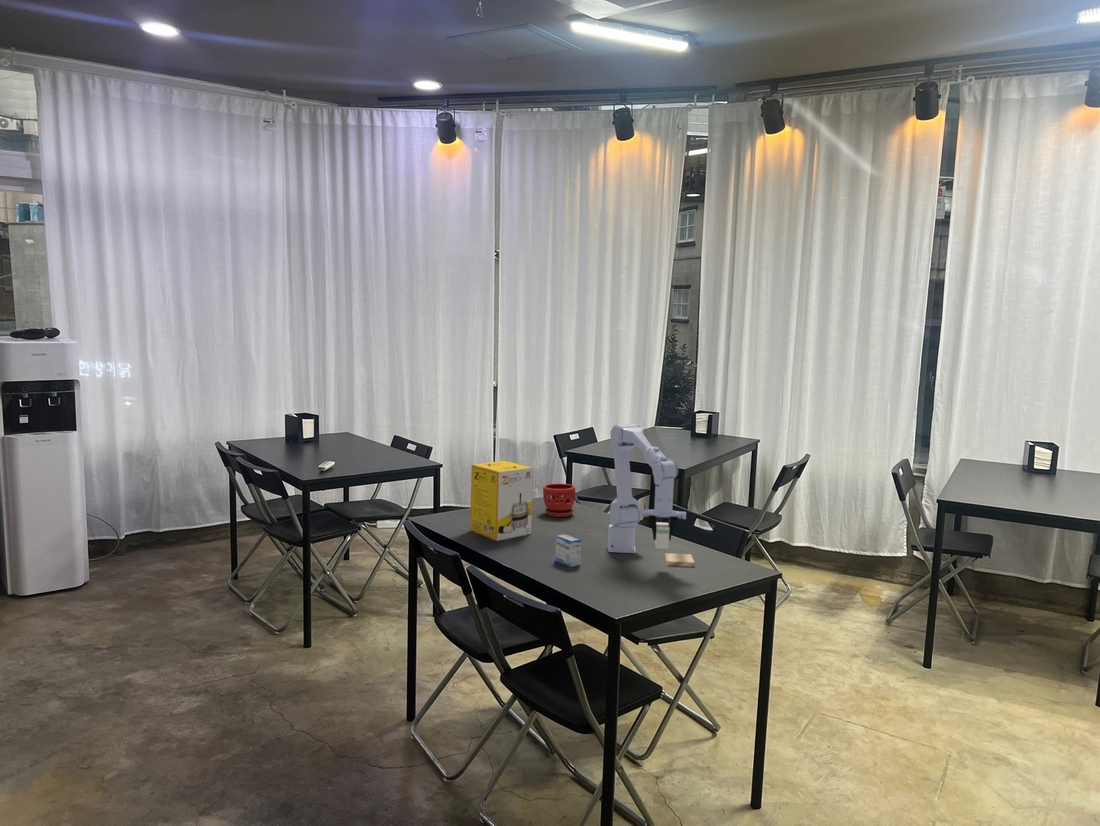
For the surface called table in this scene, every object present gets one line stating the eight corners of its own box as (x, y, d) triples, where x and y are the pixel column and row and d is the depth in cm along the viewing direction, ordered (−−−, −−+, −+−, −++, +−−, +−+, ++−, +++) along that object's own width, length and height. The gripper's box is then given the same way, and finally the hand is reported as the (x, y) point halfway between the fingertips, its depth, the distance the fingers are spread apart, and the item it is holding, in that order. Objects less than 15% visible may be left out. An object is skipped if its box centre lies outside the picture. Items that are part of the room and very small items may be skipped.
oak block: (666, 567, 261) (667, 561, 261) (664, 558, 270) (664, 553, 270) (694, 568, 261) (694, 562, 261) (690, 560, 270) (691, 554, 269)
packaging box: (504, 524, 306) (506, 460, 303) (531, 534, 294) (533, 467, 291) (469, 531, 295) (471, 464, 292) (496, 541, 283) (498, 472, 280)
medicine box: (554, 561, 262) (555, 535, 261) (564, 559, 265) (565, 533, 264) (570, 567, 256) (571, 541, 255) (580, 565, 259) (581, 539, 258)
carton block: (655, 548, 253) (656, 527, 252) (654, 543, 259) (655, 522, 258) (668, 549, 253) (669, 527, 252) (667, 543, 259) (668, 522, 258)
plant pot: (575, 511, 330) (577, 483, 328) (572, 519, 317) (573, 490, 315) (544, 509, 331) (545, 481, 330) (540, 517, 319) (541, 488, 317)
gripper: (641, 499, 251) (639, 541, 253) (688, 502, 250) (685, 543, 252) (640, 494, 258) (638, 535, 260) (685, 496, 257) (683, 537, 259)
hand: (661, 539), depth 256 cm, fingers closed on carton block, 4 cm apart
